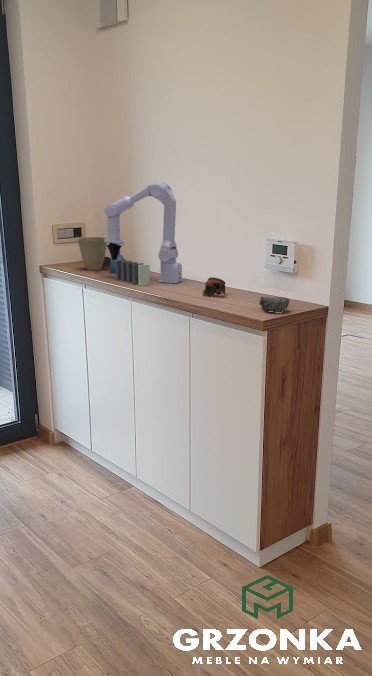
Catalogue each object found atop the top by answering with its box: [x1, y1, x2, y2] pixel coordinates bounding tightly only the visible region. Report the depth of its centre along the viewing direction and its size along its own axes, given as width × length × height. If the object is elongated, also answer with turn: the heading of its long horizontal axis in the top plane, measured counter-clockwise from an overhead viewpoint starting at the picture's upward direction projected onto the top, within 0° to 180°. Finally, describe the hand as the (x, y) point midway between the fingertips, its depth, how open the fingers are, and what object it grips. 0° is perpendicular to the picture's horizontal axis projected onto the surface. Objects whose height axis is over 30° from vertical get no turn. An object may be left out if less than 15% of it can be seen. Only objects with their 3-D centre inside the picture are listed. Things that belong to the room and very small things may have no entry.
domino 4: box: [132, 262, 145, 285], centre depth 265 cm, size 2×5×9 cm, turn 129°
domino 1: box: [115, 259, 127, 281], centre depth 275 cm, size 2×5×9 cm, turn 129°
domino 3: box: [126, 261, 138, 284], centre depth 268 cm, size 2×5×9 cm, turn 129°
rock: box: [259, 296, 290, 312], centre depth 213 cm, size 12×10×5 cm
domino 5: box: [138, 263, 151, 287], centre depth 261 cm, size 2×5×9 cm, turn 129°
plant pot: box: [77, 236, 108, 271], centre depth 303 cm, size 15×15×16 cm
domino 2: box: [120, 260, 133, 282], centre depth 271 cm, size 2×5×9 cm, turn 129°
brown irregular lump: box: [202, 276, 226, 297], centre depth 240 cm, size 12×10×8 cm
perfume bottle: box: [109, 249, 125, 275], centre depth 294 cm, size 6×6×12 cm
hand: (114, 259), depth 278 cm, fingers closed
